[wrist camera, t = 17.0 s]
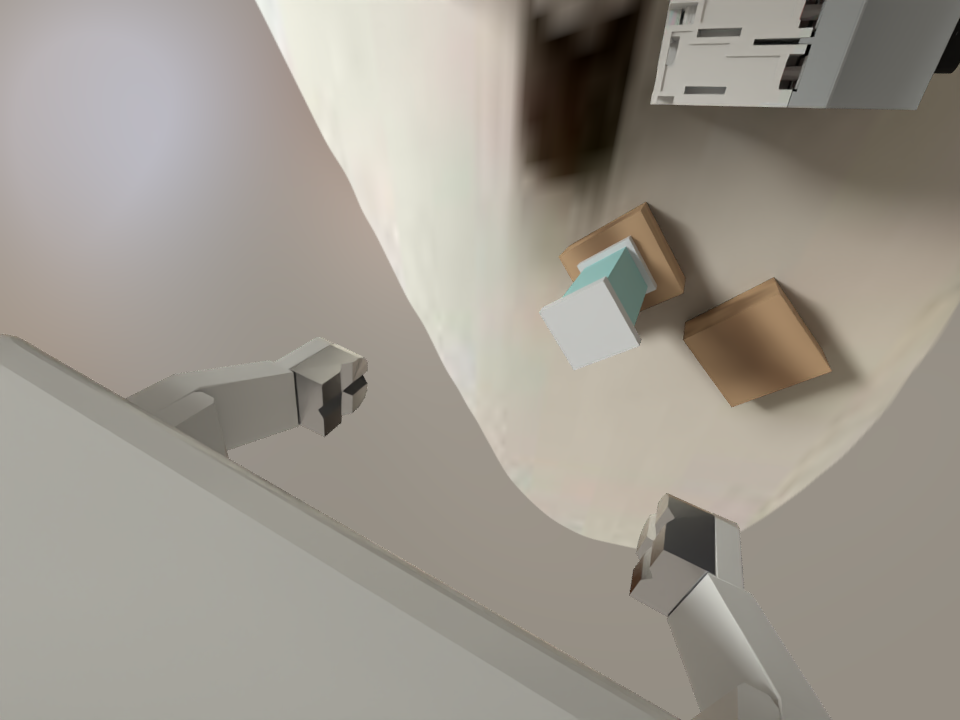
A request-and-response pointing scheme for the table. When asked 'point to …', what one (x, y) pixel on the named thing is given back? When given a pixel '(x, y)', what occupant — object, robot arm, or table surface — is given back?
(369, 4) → the table surface
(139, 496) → the robot arm
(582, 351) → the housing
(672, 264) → the stand
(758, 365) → the stand
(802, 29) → the circuit breaker
